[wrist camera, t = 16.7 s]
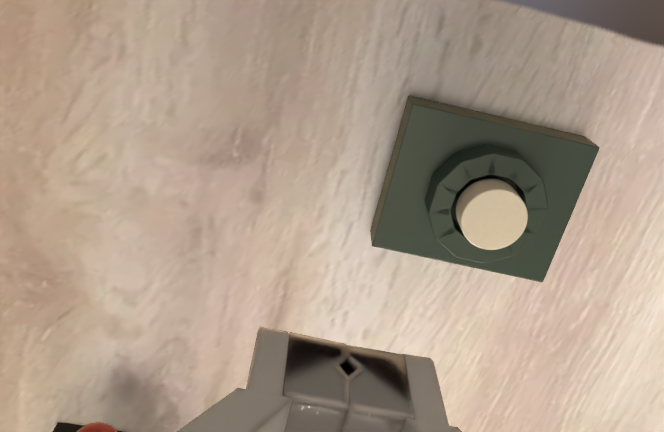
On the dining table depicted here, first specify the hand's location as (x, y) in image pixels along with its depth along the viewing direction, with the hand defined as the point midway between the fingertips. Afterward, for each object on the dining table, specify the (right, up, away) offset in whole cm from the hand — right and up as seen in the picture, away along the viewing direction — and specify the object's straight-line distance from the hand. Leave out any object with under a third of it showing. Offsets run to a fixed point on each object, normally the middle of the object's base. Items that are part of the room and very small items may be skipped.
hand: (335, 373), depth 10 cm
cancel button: (+9, +3, +24) cm, 26 cm away
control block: (+9, +5, +27) cm, 29 cm away
